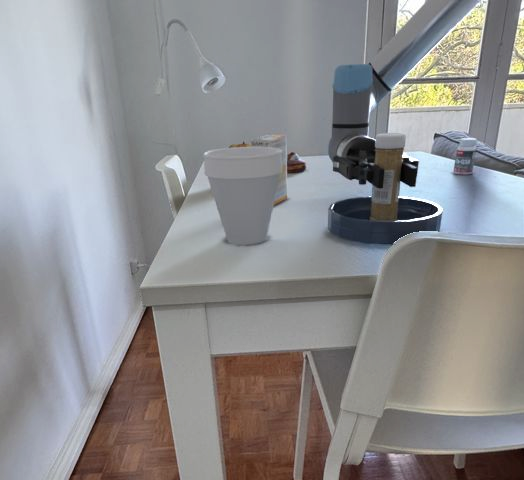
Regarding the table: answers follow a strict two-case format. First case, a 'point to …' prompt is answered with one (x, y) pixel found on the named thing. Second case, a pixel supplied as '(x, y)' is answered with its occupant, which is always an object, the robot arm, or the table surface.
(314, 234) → the table surface
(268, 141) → the supplement box
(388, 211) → the sprinkles bottle
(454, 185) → the table surface
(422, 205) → the dark blue round dish
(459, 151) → the pill bottle
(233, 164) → the white flower pot
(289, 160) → the pastry
